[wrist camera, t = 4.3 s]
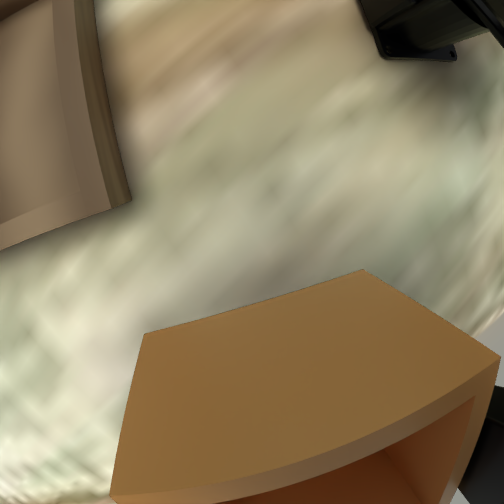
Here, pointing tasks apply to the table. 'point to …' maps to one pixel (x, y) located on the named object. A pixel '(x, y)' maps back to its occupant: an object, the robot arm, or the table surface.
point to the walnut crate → (53, 120)
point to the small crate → (305, 403)
